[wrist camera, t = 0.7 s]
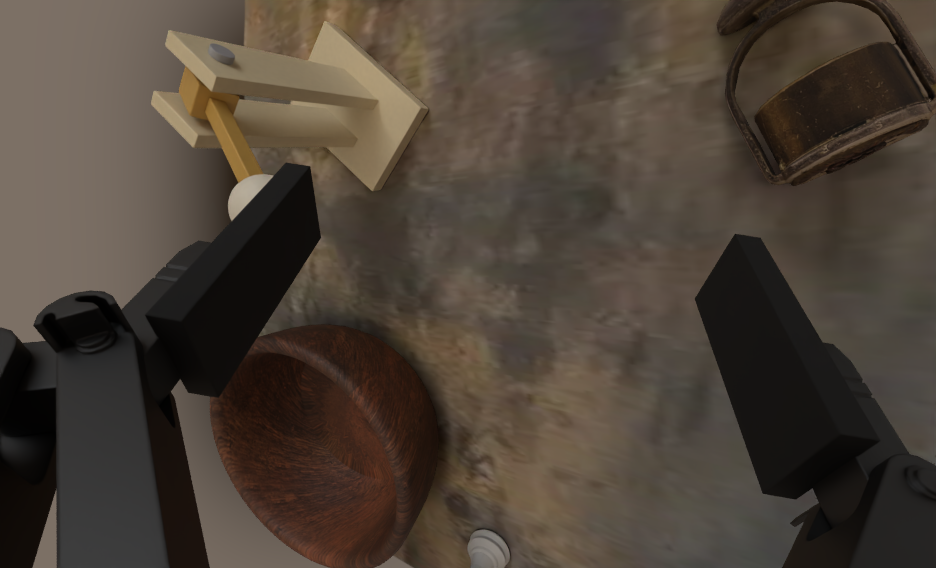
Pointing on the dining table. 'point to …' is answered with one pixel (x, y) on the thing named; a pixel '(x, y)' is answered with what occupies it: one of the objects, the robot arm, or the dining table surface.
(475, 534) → the chess piece
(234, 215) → the lever
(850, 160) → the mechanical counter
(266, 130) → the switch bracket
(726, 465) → the dining table surface
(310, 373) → the wooden bowl
